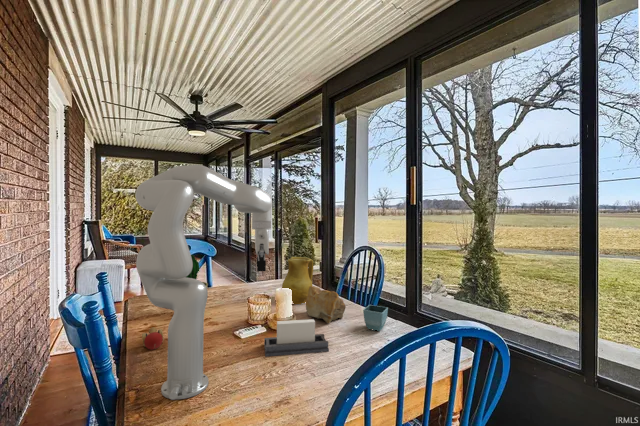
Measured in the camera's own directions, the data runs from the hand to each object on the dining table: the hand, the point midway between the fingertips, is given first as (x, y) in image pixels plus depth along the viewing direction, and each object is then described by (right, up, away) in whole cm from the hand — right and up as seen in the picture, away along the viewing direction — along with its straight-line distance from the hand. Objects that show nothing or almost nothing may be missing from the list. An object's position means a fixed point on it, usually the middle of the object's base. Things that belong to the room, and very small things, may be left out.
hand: (261, 268), depth 125 cm
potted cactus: (-39, -28, +27) cm, 55 cm away
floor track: (+14, -29, -7) cm, 33 cm away
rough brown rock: (+28, -29, +27) cm, 48 cm away
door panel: (+14, -28, -7) cm, 32 cm away
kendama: (-41, -28, -4) cm, 50 cm away
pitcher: (+11, -28, +53) cm, 61 cm away
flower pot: (+48, -29, +14) cm, 58 cm away
